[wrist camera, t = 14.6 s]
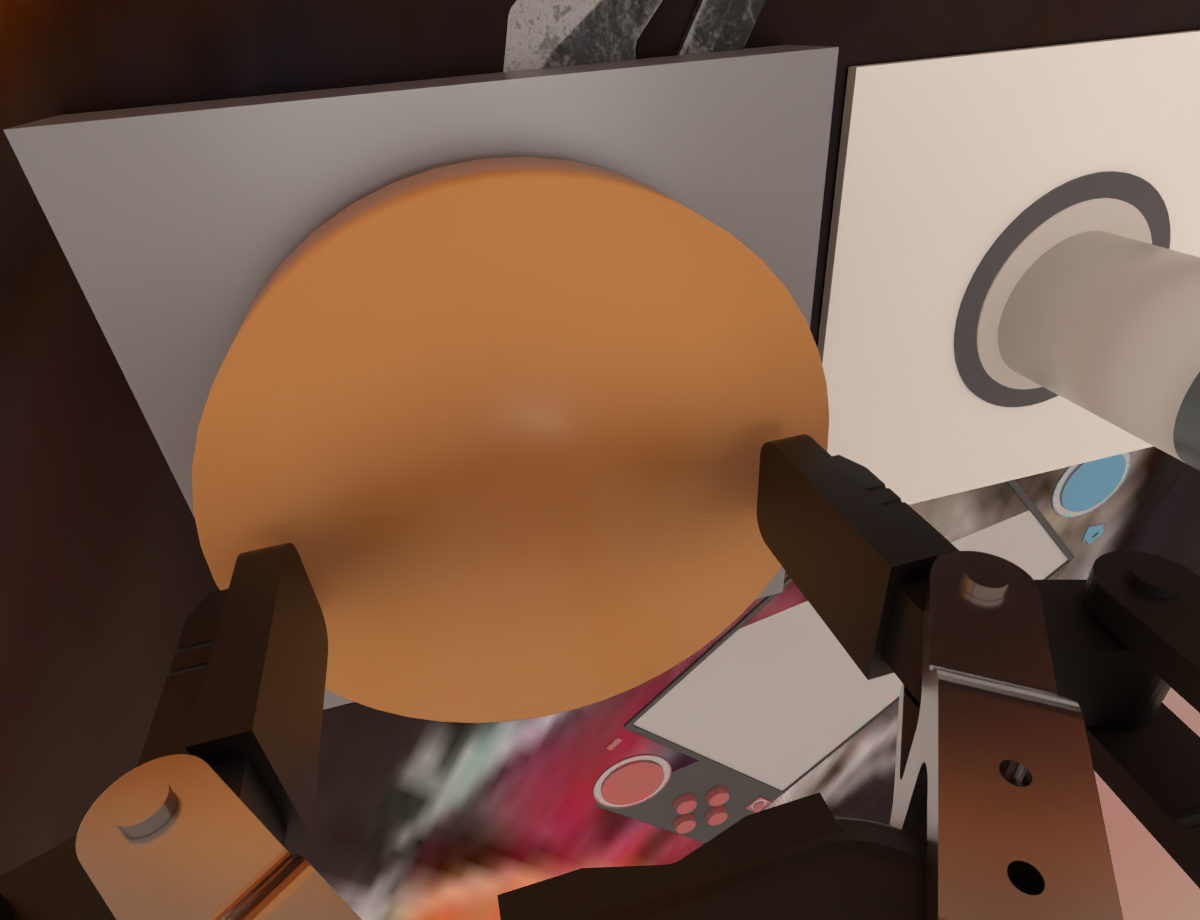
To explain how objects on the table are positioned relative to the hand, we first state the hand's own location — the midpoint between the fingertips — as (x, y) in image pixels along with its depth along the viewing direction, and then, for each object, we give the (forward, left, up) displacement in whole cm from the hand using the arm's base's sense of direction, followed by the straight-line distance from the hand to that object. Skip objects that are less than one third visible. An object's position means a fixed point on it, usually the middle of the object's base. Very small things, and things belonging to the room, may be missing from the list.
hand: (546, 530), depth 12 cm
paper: (0, -15, -5) cm, 16 cm away
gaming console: (-12, -11, -6) cm, 17 cm away
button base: (0, 0, -5) cm, 5 cm away
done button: (0, 0, -2) cm, 2 cm away
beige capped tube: (0, -15, -5) cm, 16 cm away
